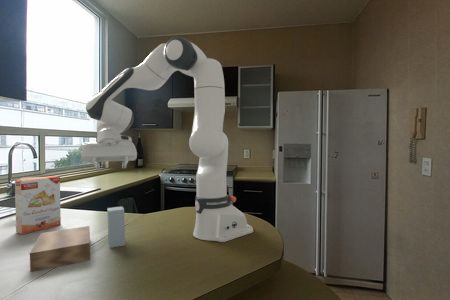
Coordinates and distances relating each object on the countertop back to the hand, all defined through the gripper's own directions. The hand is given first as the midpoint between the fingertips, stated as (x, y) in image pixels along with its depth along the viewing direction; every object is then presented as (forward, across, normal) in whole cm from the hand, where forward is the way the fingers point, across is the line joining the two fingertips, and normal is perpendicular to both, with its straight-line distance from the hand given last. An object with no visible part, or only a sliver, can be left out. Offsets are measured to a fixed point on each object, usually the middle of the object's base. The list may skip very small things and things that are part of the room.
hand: (111, 167), depth 98 cm
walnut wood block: (+28, -15, +7) cm, 32 cm away
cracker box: (+4, -26, +32) cm, 41 cm away
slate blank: (+28, 0, +7) cm, 29 cm away
